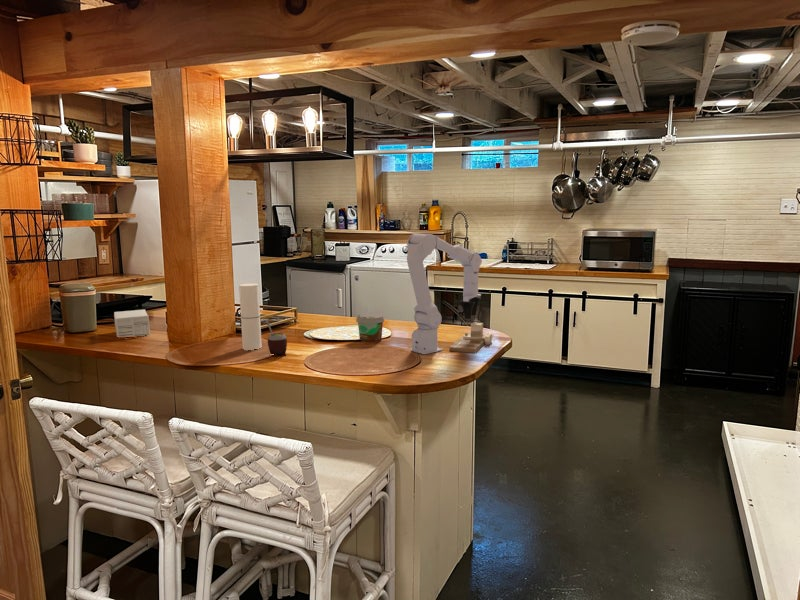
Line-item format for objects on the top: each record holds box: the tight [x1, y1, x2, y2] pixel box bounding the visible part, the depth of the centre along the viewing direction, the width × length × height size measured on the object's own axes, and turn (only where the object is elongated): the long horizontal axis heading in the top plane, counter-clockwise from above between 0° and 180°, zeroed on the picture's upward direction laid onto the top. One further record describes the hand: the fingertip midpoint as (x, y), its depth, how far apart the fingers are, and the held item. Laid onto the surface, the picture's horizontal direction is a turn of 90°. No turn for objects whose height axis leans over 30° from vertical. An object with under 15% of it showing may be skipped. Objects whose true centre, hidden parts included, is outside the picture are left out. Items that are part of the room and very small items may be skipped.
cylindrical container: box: [238, 283, 263, 351], centre depth 225 cm, size 7×7×25 cm
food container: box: [355, 314, 385, 343], centre depth 236 cm, size 12×6×10 cm, turn 62°
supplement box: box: [113, 309, 151, 338], centre depth 255 cm, size 17×13×9 cm
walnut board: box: [449, 336, 486, 354], centre depth 226 cm, size 20×10×2 cm, turn 159°
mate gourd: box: [261, 317, 288, 358], centre depth 214 cm, size 8×8×15 cm
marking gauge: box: [462, 322, 493, 346], centre depth 231 cm, size 6×11×7 cm, turn 69°
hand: (470, 316), depth 230 cm, fingers open, 7 cm apart
